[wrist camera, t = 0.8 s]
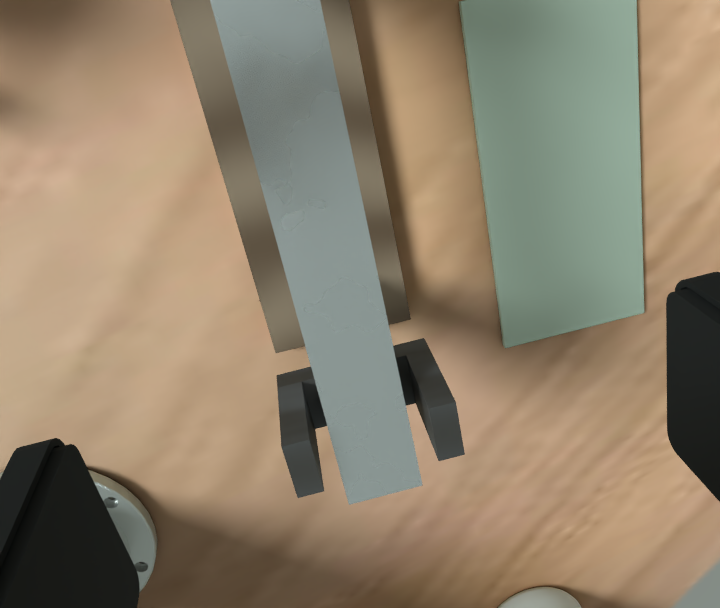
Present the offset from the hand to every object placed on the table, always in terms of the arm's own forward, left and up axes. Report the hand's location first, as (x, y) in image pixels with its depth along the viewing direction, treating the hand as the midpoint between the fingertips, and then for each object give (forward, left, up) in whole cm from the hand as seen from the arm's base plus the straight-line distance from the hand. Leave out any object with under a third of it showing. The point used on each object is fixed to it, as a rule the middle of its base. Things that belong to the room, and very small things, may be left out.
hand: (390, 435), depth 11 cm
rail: (0, 0, -16) cm, 16 cm away
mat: (-6, -14, -28) cm, 31 cm away
